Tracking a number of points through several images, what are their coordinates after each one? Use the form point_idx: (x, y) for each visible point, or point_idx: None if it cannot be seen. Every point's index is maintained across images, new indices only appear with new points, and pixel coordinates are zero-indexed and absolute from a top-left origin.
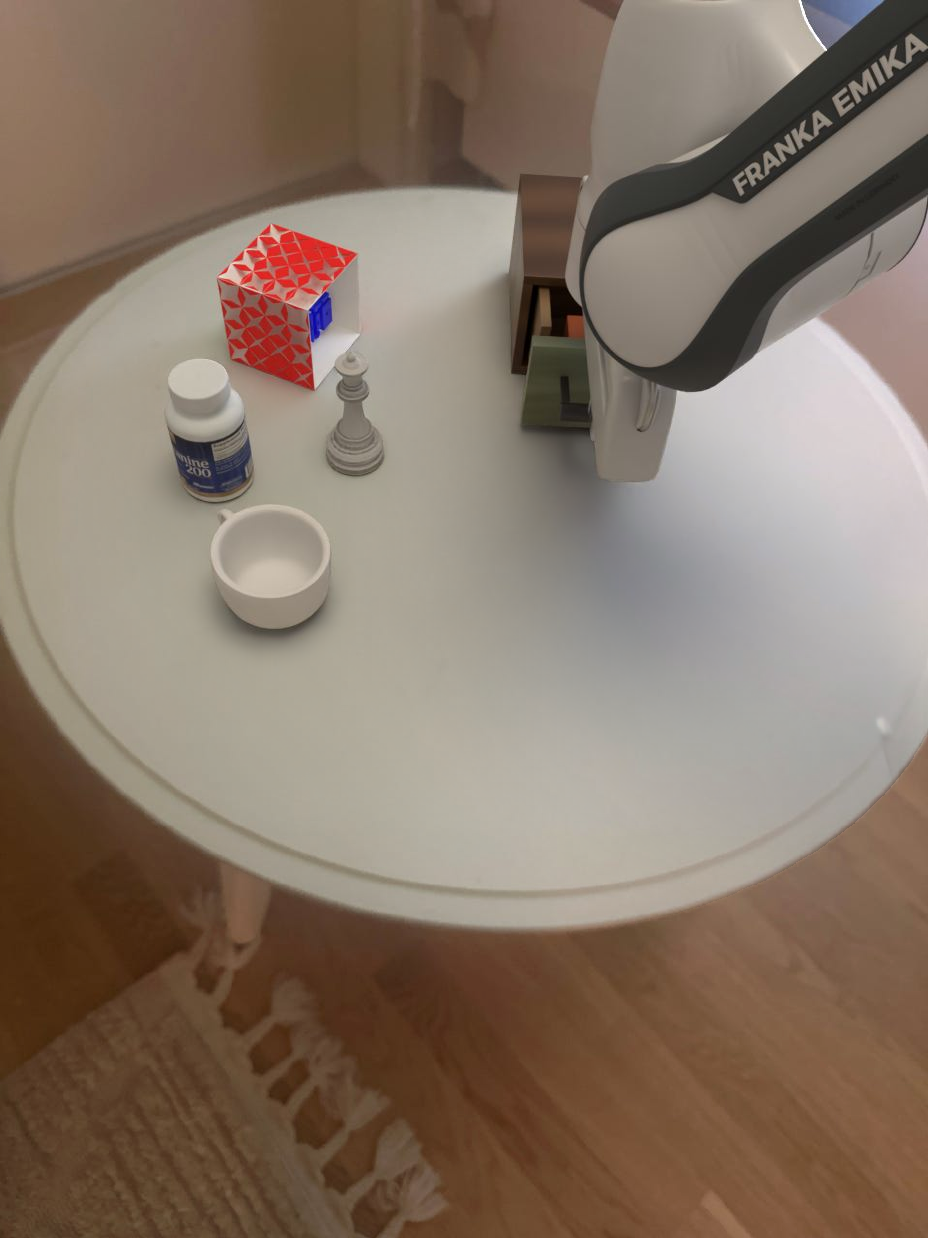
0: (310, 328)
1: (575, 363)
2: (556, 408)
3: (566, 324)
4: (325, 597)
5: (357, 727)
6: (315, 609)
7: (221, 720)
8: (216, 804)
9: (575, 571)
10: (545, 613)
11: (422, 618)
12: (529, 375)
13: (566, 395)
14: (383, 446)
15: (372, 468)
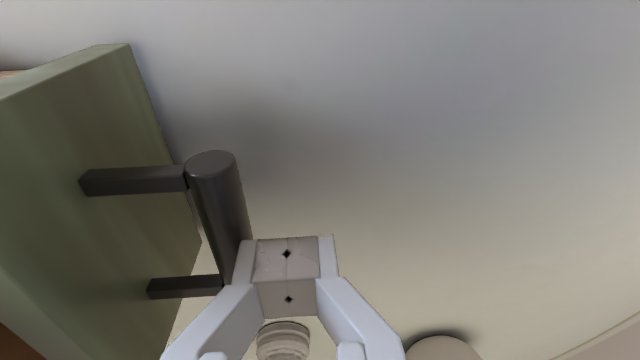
0: None
1: (125, 320)
2: (178, 234)
3: None
4: (462, 349)
5: (560, 302)
6: (473, 353)
7: (520, 350)
8: (577, 343)
9: (446, 164)
10: (500, 194)
11: (473, 281)
12: (171, 329)
13: (205, 292)
14: (275, 330)
15: (302, 329)
